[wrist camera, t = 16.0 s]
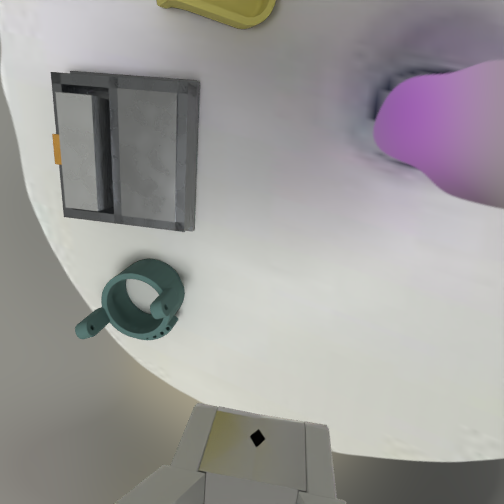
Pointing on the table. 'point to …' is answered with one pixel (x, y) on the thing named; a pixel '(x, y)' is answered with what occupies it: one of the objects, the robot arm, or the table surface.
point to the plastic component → (226, 10)
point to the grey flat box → (143, 147)
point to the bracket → (127, 314)
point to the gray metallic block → (85, 151)
